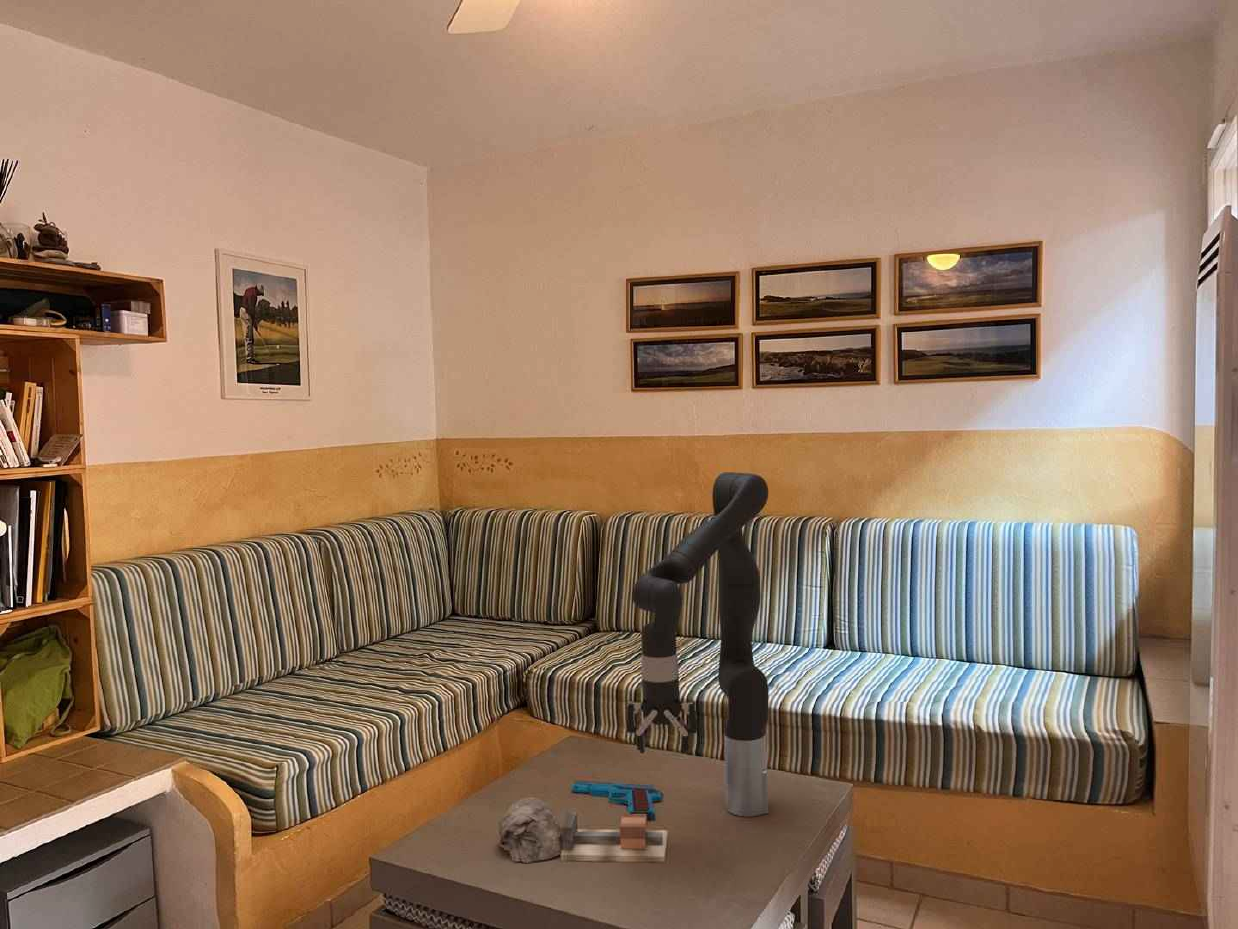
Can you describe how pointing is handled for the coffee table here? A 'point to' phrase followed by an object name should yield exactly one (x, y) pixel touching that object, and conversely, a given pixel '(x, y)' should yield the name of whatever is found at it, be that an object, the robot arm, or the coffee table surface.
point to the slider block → (633, 831)
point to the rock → (530, 831)
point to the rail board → (608, 844)
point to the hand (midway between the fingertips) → (663, 752)
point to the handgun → (623, 795)
